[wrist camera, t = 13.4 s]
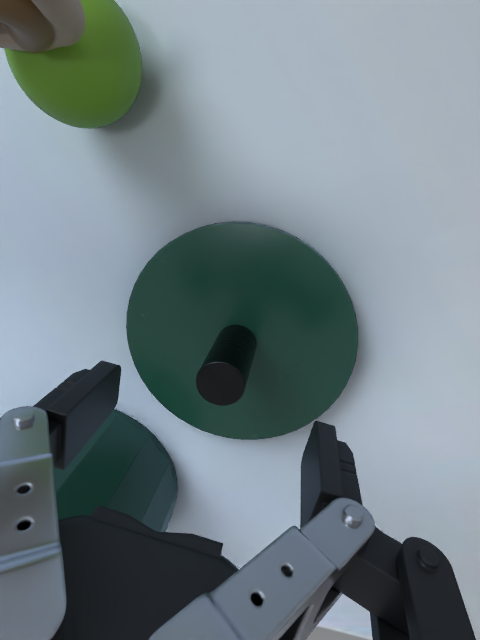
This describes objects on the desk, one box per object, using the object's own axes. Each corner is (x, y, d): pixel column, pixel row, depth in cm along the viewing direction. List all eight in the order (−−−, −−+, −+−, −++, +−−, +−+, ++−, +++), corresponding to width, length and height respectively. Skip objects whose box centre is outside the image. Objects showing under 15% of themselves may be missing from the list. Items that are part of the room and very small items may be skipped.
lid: (124, 397, 25) (74, 457, 20) (147, 195, 20) (90, 198, 15) (316, 452, 24) (321, 530, 19) (390, 253, 19) (426, 281, 14)
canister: (22, 508, 31) (-90, 639, 22) (22, 382, 26) (-121, 483, 17) (165, 552, 30) (108, 707, 21) (190, 430, 25) (130, 561, 16)
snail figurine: (179, 137, 19) (7, 69, 8) (64, 133, 20) (-242, 66, 9) (178, 7, 17) (-51, -326, 6) (50, 9, 18) (-362, -283, 7)
